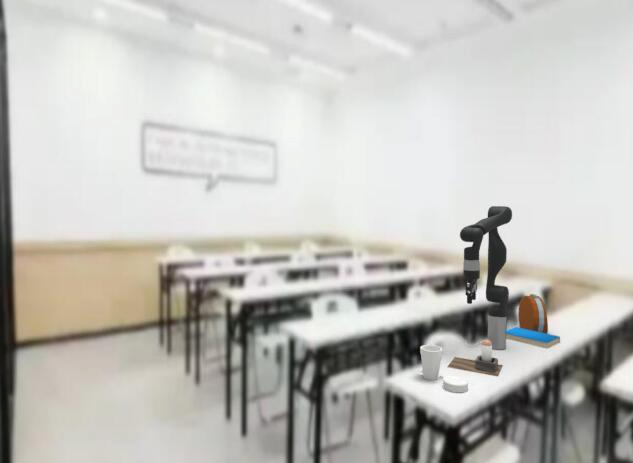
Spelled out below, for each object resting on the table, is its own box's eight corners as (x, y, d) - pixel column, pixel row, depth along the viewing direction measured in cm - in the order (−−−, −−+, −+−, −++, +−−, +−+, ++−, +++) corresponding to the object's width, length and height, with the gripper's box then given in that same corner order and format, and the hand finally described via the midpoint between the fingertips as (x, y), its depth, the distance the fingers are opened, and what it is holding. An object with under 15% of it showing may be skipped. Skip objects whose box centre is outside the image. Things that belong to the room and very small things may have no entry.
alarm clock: (550, 337, 260) (552, 298, 258) (533, 336, 260) (535, 298, 259) (533, 326, 282) (534, 291, 280) (517, 326, 282) (518, 290, 281)
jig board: (454, 359, 221) (455, 348, 220) (502, 367, 210) (503, 356, 210) (446, 369, 207) (447, 358, 206) (497, 379, 196) (498, 367, 196)
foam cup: (438, 373, 202) (438, 344, 201) (444, 381, 193) (445, 351, 192) (417, 373, 202) (417, 344, 201) (422, 381, 193) (423, 351, 192)
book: (547, 342, 238) (502, 331, 257) (547, 350, 239) (501, 338, 258) (560, 336, 250) (516, 326, 268) (560, 343, 250) (515, 333, 269)
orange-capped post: (482, 365, 209) (482, 337, 208) (492, 367, 207) (492, 339, 206) (480, 368, 205) (481, 340, 204) (490, 370, 203) (491, 341, 202)
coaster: (457, 395, 179) (458, 386, 179) (437, 386, 188) (438, 378, 187) (473, 389, 185) (473, 381, 185) (453, 381, 193) (453, 373, 193)
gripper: (476, 271, 209) (476, 305, 210) (482, 266, 221) (482, 299, 223) (460, 270, 213) (460, 304, 214) (466, 265, 225) (466, 297, 226)
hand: (471, 301), depth 218 cm, fingers open, 8 cm apart
